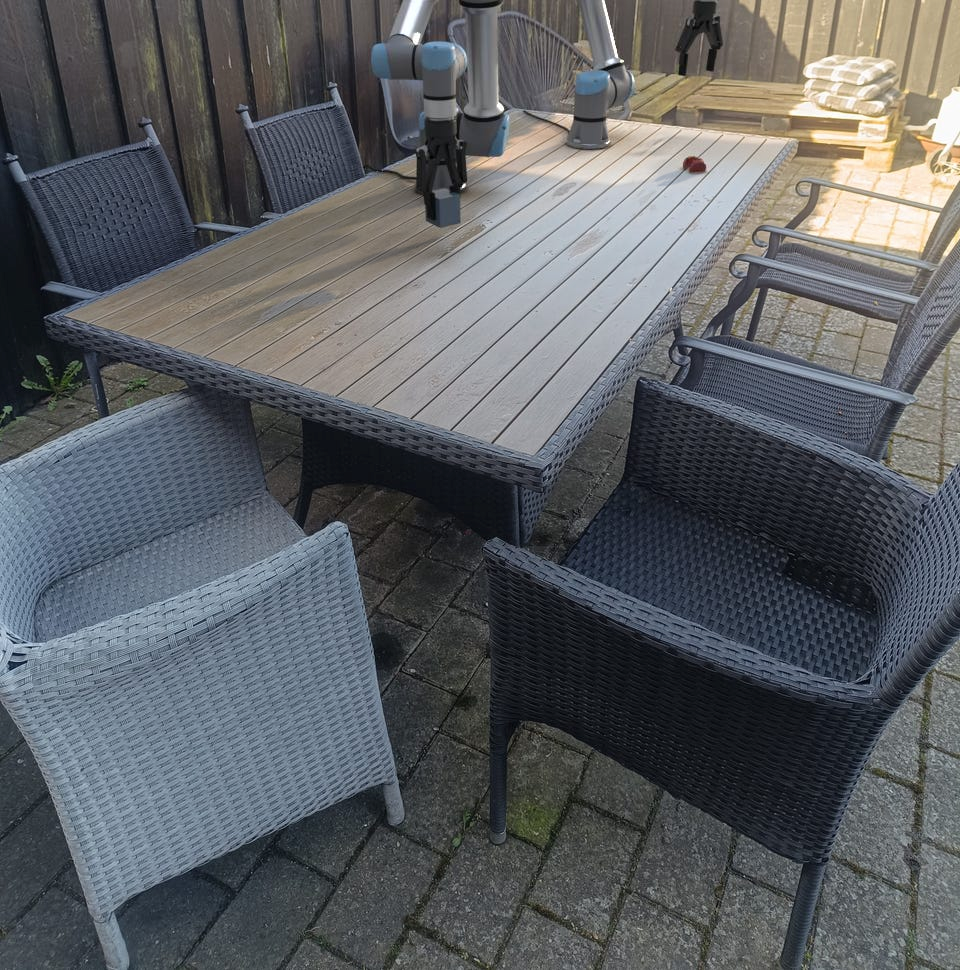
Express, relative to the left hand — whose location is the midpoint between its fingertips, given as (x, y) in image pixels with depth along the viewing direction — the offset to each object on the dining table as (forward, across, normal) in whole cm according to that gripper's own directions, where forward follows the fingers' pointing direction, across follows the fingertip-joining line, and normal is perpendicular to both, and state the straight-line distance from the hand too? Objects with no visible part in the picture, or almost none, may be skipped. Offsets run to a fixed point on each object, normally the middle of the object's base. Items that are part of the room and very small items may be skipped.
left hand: (442, 215), depth 210 cm
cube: (+2, 0, 0) cm, 2 cm away
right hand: (-15, -123, -31) cm, 128 cm away
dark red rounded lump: (+10, -108, -13) cm, 110 cm away
